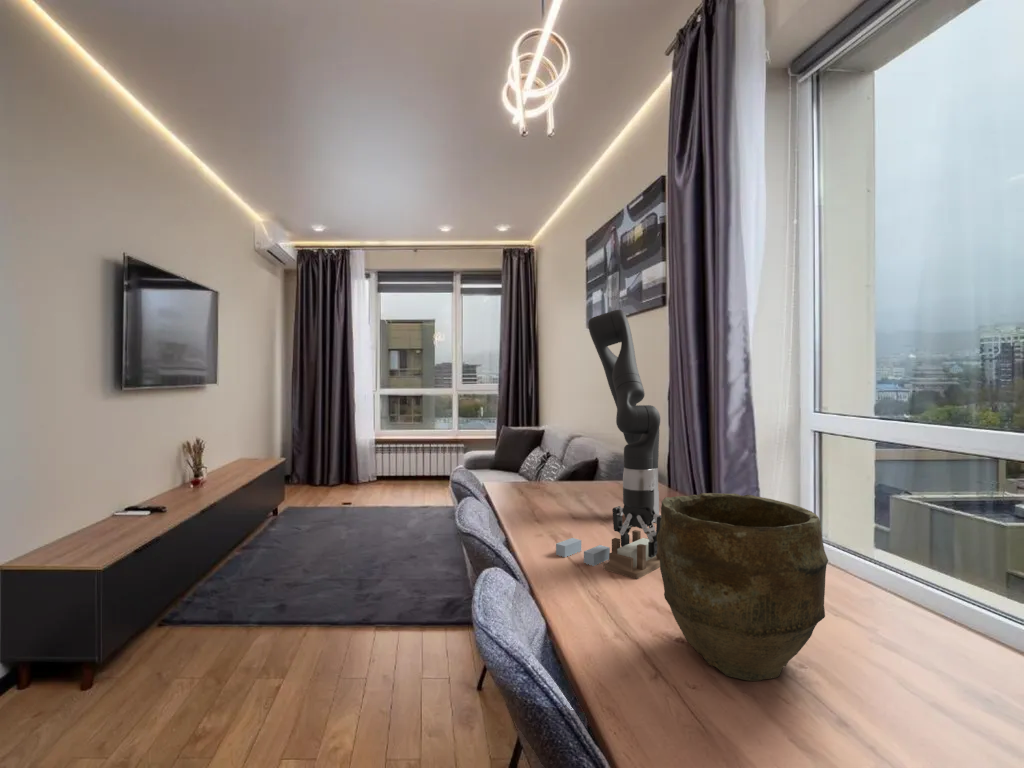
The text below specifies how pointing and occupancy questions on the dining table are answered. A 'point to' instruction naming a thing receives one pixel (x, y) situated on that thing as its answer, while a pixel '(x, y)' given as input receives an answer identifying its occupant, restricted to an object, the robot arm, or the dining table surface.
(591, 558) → the pair of grey blocks
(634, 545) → the white rectangular block
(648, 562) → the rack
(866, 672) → the dining table surface
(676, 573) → the clay pot
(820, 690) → the dining table surface
